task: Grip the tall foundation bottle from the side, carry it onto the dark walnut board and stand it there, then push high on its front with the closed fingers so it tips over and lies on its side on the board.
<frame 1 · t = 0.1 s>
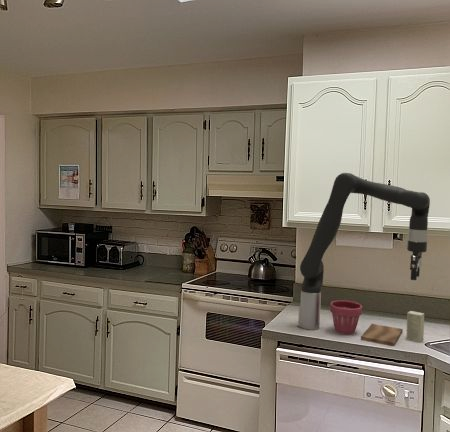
hand: (414, 278, 195), 29 cm above the counter, tool pointing down, fingers open, 8 cm apart
walnut board: (382, 335, 209), on the counter
plant pot: (344, 331, 213), on the counter
skincare box: (414, 340, 205), on the counter
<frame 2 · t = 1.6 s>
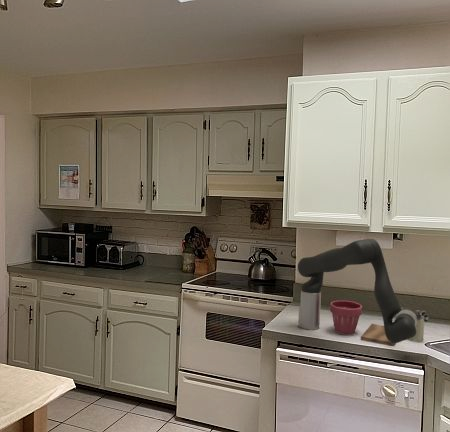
hand: (412, 310, 193), 16 cm above the counter, tool horizontal, fingers open, 8 cm apart
nothing on the counter moved.
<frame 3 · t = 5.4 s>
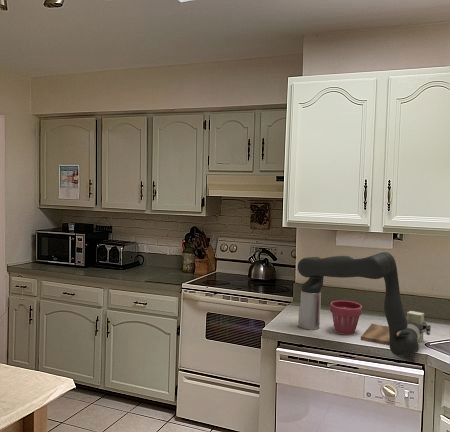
hand: (415, 323, 206), 7 cm above the counter, tool horizontal, fingers open, 7 cm apart
skincare box: (414, 340, 205), on the counter, touching gripper
everything else where it was.
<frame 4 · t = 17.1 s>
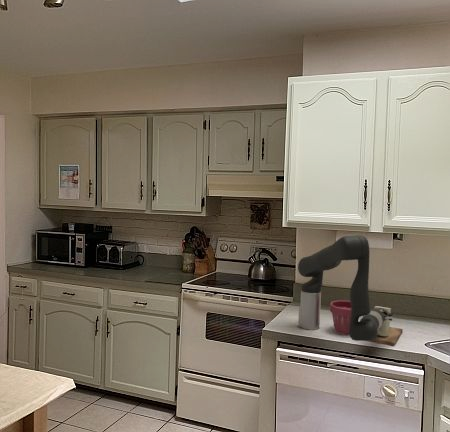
hand: (381, 310, 203), 13 cm above the counter, tool horizontal, fingers closed
skincare box: (379, 335, 204), point 2 cm above the counter, touching gripper, walnut board
everything else where it was.
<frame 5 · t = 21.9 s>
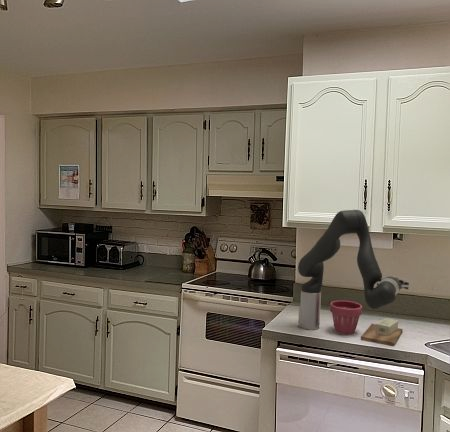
hand: (396, 280, 195), 28 cm above the counter, tool horizontal, fingers closed
skincare box: (381, 329, 206), point 4 cm above the counter, touching walnut board
everything else where it was.
at the end: skincare box tilted 91°; skincare box touching walnut board; skincare box inside the target area (0.9 cm from its centre), point 3.7 cm above the counter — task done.
